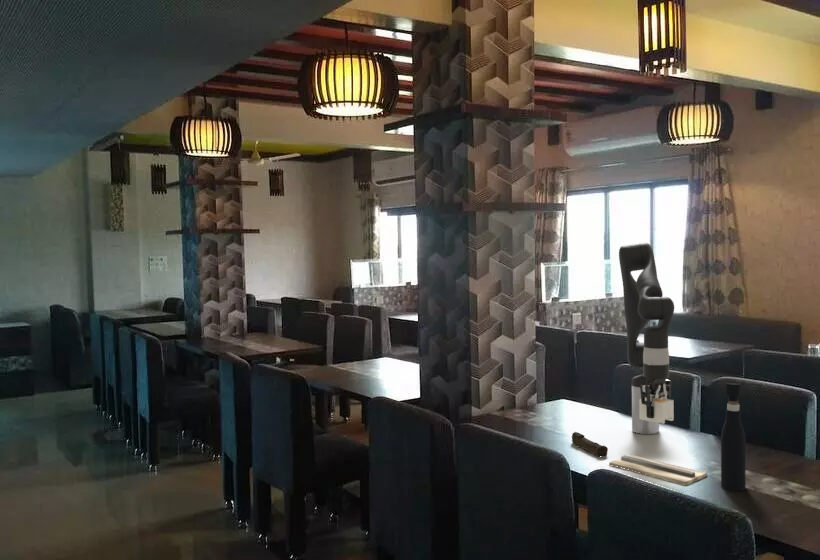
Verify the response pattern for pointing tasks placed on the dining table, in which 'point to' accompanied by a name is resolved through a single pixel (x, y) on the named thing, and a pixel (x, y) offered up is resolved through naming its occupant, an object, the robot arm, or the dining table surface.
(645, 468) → the rail board
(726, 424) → the wine bottle
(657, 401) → the block
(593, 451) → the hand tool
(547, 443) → the dining table surface
